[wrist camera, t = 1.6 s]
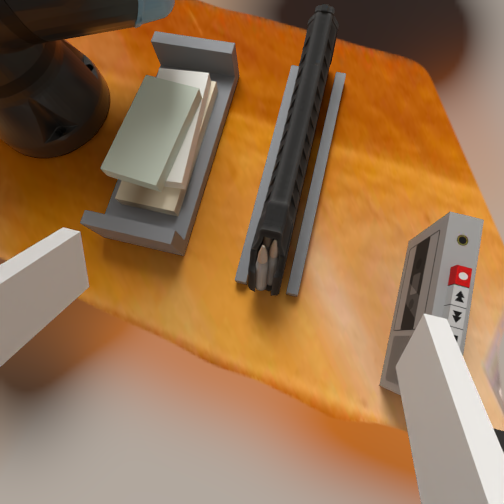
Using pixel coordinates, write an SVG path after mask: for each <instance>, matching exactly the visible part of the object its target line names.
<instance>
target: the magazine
mask: <svg viewBox="0 0 504 504" xmlns="http://www.w3.org/2000/svg"><path fill="white" fill-rule="evenodd" d="M334 12H335V9H334V8H333V7H329V5H326V4H322V6H317V7H316V9H315V14H314V15H313V16H312V17H311V18H310V19H309V21H308V25H307V33H306V38H305V42H304V47H303V51H302V56H301V60H300V64H299V69H298V73H297V77H296V80H295V86H294V90H293V94H292V97H291V102H290V106H289V109H288V114H287V119H286V123H285V125H284V131H283V135H282V139H281V141H280V146H279V150H278V154H277V157H276V162H275V165H274V169H273V172H272V177H271V181H270V184H269V187H268V192H267V195H266V199H265V202H264V206H263V210H262V213H261V217H260V219H259V222H258V225H257V229H256V233H255V236H254V240H253V243H252V247H251V251H250V261H249V267H248V287H249V289H250V290H252V291H255V288H256V289H257V290H259V291H262V290H267V291H271V295H278V294H279V291H280V287H281V282H282V278H283V274H284V269H285V265H286V260H287V255H288V250H289V245H290V241H291V236H292V232H293V228H294V223H295V219H296V214H297V210H298V206H299V201H300V197H301V192H302V188H303V183H304V179H305V174H306V170H307V166H308V161H309V157H310V152H311V148H312V143H313V139H314V134H315V130H316V125H317V121H318V116H319V112H320V107H321V103H322V98H323V94H324V89H325V85H326V80H327V76H328V71H329V67H330V64H331V61H332V57H333V52H334V47H335V42H336V37H337V32H338V26H339V25H338V22H337V20H336V18H335V17H334Z"/></svg>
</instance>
